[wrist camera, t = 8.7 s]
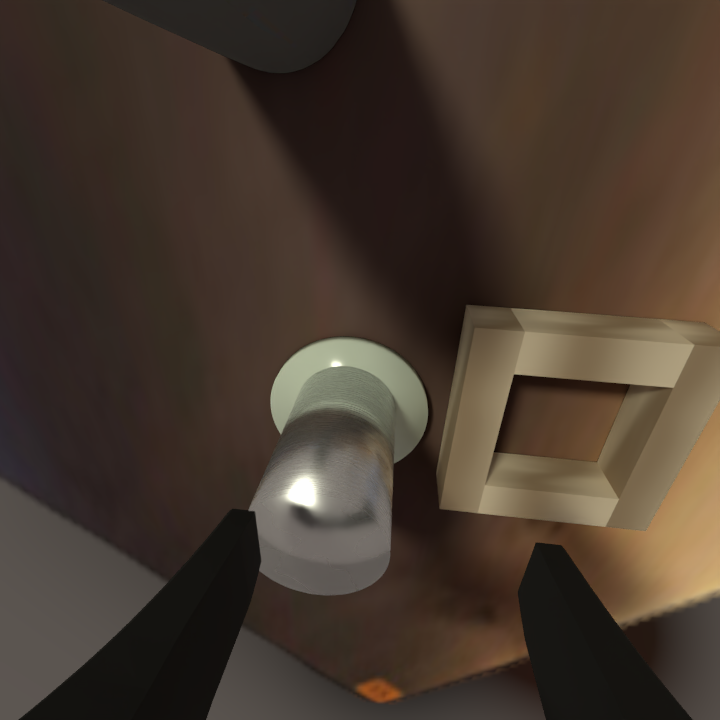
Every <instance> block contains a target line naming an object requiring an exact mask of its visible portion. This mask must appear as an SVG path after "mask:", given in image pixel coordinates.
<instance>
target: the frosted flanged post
mask: <svg viewBox="0 0 720 720" xmlns="http://www.w3.org/2000/svg"><path fill="white" fill-rule="evenodd" d="M395 421H396V405H395V401H394V398H393V396H392V393H391V392H390V390H389V389H388V387H387V386H386V385H385V384H384V383H383V382H382V381H381V380H380V379H379V378H378V377H376V376H375V375H373V374H371V373H369V372H367V371H365V370H362V369H359V368H356V367H350V366H335V367H330V368H326V369H323V370H321V371H319V372H317V373H315V374H314V375H312V376H311V377H310V378H309V379H307V381H306V382H305V383H304V384H303V386H302V388H301V389H300V392H299V394H298V396H297V399H296V401H295V403H294V406H293V408H292V410H291V413H290V415H289V417H288V420H287V422H286V424H285V427H284V429H283V431H282V434H281V436H280V438H279V441H278V443H277V445H276V448H275V450H274V452H273V455H272V457H271V459H270V461H269V464H268V466H267V468H266V471H265V473H264V475H263V478H262V480H261V482H260V485H259V487H258V489H257V492H256V494H255V496H254V499H253V501H252V503H251V506H250V508H249V510H248V511H255V515H256V522H257V530H258V538H259V546H260V554H261V565H260V569H259V571H261V572H262V573H263V574H264V575H266V576H267V577H269V578H270V579H272V580H273V581H275V582H277V583H279V584H281V585H283V586H286V587H288V588H291V589H294V590H297V591H301V592H305V593H310V594H316V595H342V594H348V593H352V592H356V591H359V590H361V589H364V588H366V587H368V586H370V585H372V584H373V583H374V582H376V581H377V580H378V579H379V578H380V577H381V576H382V575H383V573H384V572H385V571H386V569H387V566H388V564H389V560H390V543H391V519H392V494H393V470H394V446H395Z"/></svg>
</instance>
